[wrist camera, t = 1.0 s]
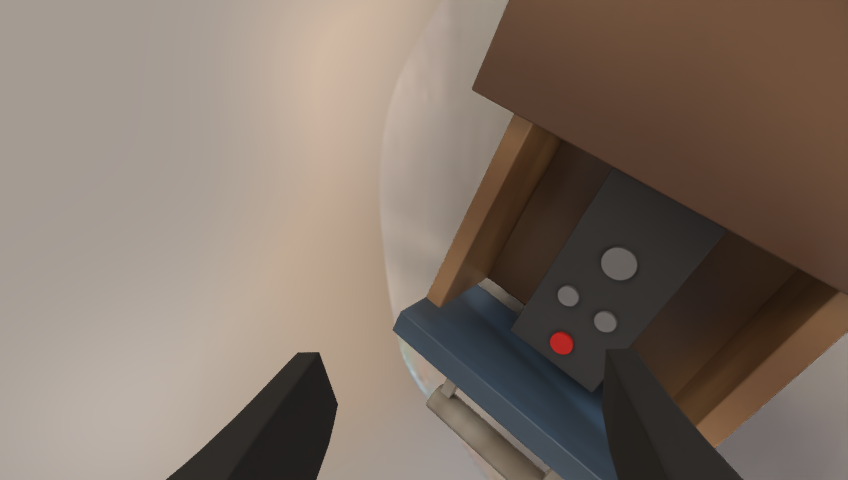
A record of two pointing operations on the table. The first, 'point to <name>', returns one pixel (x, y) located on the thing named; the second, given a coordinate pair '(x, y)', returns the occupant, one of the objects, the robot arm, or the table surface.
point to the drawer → (657, 345)
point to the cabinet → (698, 107)
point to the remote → (613, 276)
